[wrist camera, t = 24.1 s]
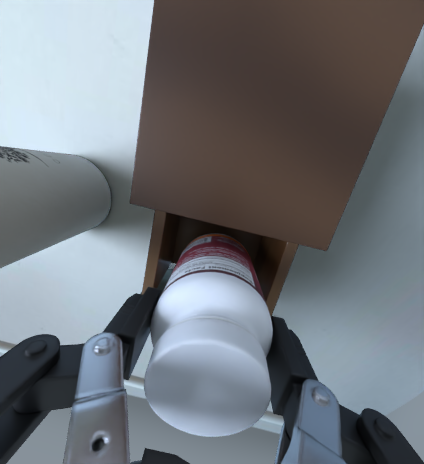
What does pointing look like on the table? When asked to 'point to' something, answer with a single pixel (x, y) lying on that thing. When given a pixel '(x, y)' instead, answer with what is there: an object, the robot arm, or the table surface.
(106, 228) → the table surface
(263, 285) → the drawer
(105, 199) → the travel mug
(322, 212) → the cabinet
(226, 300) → the pill bottle
